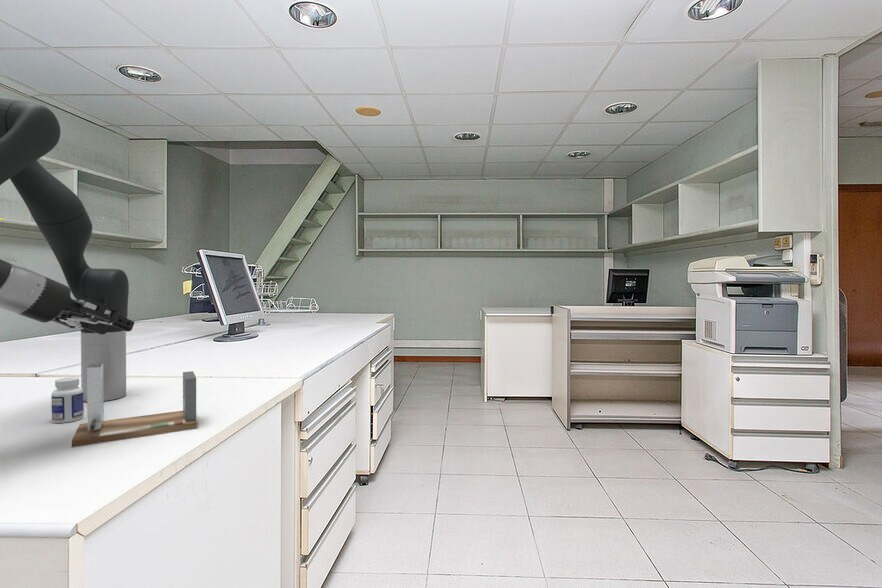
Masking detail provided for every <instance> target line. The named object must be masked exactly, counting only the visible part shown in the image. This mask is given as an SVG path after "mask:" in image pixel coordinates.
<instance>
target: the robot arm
mask: <svg viewBox="0 0 882 588" xmlns="http://www.w3.org/2000/svg"><path fill="white" fill-rule="evenodd" d="M60 138H61V126H60V122H59V120H58V118H57V116H56V115H55V112H53V111H52V110H51V109H49V108H48V107H47V106H45V105H43V104H41V103H36V102H33V101H26V100H19V99H11V98H1V97H0V186H2V185H3V184H4V183H5V182H7V181H9V180H10V181H11V183H12V184H13V186H14V187H15V189H16V191H17V192H18V194H19V195H20V197H21V199H22V200H23V202H24V204H25V205H26V207H27V209H28V211H29V213H30V215H31V216H32V219H33V221H34V222H35V224H36V226H37V227H38V229H39V230H40V233H41V234H42V235H43V237H44V238H45V240H46V241H47V243H48V245H49V247H50V249H51V251H52V252H53V255H54V256H55V258H56V260H57V262H58V264H59V266H60V269H61V270H62V273H63V275H64V278H65V281H66V283H67V285H65V284H63V283H61V282H59V281H57V280H54V279H51V278H50V277H47V276H44V275H42V274H40V273H38V272H35V271H33V270H30V269H27V268H25V267H22V266H18V265H15V264H13V263H10V262H8V261H5V260H3V259H1V258H0V308H1V309H3V310H6V311H7V312H11V313H14V314H16V315H20V316H23V317H25V318H28V319H31V320H33V321H37V322H40V323H45V324H46V323H49V322H54V323H57V324H60V325H62V326H65V327H67V328H69V329H75V328H78V329H79V330H80V377H81V378H80V388H82V389H83V402H86V403H87V367H88V366H89V365H90V363H97V362H103V391H104V402H105V401H112V400H116V399H121V398H124V397H126V396H127V332H132V330H133V327H134V325H135V321H134V320H131V319H129V318H128V311H129V310H128V307H129V305H128V304H129V293H130V292H129V291H130V290H129V289H130V286H129V284H130V283H129V278H128V275H127V273H126V272H125V271H124V270H122V269H120V268H119V269H117V268H95V267H94V268H92V267H90V266H89V265H88V263H87V261H86V259H85V256H84V253H85V251H86V248H87V246H88V244H89V241H90V240H91V237H92V234H93V223H92V221H91V218H90V216H89V214H88V212H87V209H86V208H85V205H84V203H83V202H82V200H81V199H80V197H79V196H78V195H76V193H75V192H74V191H72V189H70V188H69V187H68V186H67V185H65V184H64V183H63V182H62V181H60V180H59V179H58V178H57V177H56V176H54V175H53V174H51V173H50V172H49V171H48V170H47V169H46V168H45V167H43V165H42V164H41V163H40V162H39V161H38V160H39V159H40V158H42V157H44V156H45V155H46V154H48V153H50V152H51V151H52V150H53V149H54V148H56V146H57V145H58V144H59V142H60ZM71 293H72V295H71ZM72 296H73V297H74V299H73V298H72Z"/></svg>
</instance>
